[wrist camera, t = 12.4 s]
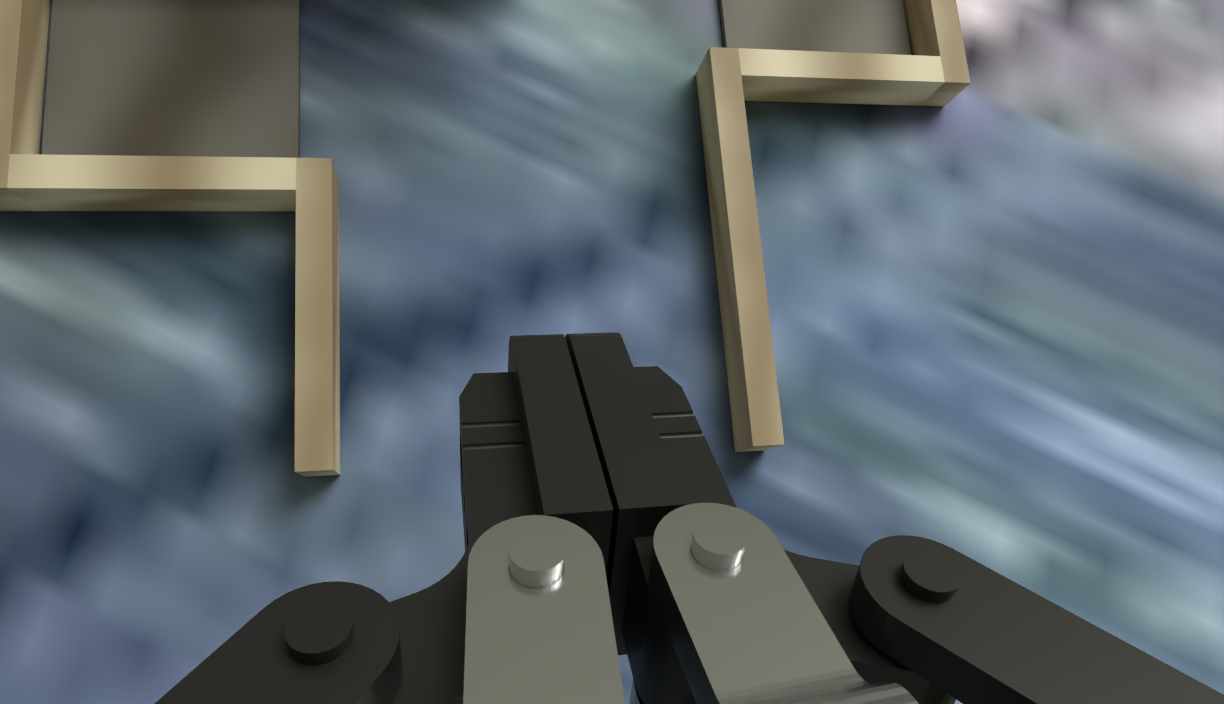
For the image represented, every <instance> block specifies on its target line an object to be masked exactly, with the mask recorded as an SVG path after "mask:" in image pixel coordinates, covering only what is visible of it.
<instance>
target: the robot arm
mask: <svg viewBox="0 0 1224 704" xmlns="http://www.w3.org/2000/svg"><path fill="white" fill-rule="evenodd" d="M459 405H460V466H461V495H462V510H463V525H464V537H465V553H464V555H463V557H462V559H461V560H460V562H459V563H458V564H457V566H456V567H455V568H454V569H453V570H452V571H451V572H450V573H449V574H448V575H446V576H445V577H444V578H443V579H441V580H440V581H439V582H437V583H435V584H433V585H432V586H430V587H428V588H426V589H424V590H421V591H419V592H417V593H414V594H411V595H409V596H406V597H403V598H400V599H397V600H395V601H392V602H388V601H387V600H386V599H385V598H384V597H383V596H382V595H380V594H379V593H377V592H375V591H374V590H372V589H370V588H367V587H365V586H362V585H359V584H354V583H349V582H322V583H316V584H311V585H308V586H304V587H301V588H298V589H295V590H293V591H291V592H288V593H286V594H284V595H283V596H281V597H279V598H277V599H276V600H274V601H273V602H271V603H270V604H269V605H267V606H266V607H265V608H264V609H262V610H261V611H260V612H259V613H258V614H257V615H256V616H254V617H253V618H252V619H251V620H250V621H249V622H248V623H246V624H245V625H244V626H243V627H242V628H241V629H240V630H238V631H237V632H236V633H235V634H234V635H233V636H232V637H230V638H229V639H228V640H227V641H226V642H225V643H224V644H222V645H221V646H220V647H219V648H218V649H217V650H216V651H214V652H213V653H212V654H211V655H210V656H209V657H207V658H206V659H205V660H204V661H203V662H202V663H201V664H199V665H198V666H197V667H196V668H195V669H194V670H193V671H191V672H190V673H189V674H188V675H187V676H186V677H185V678H183V679H182V680H181V681H180V682H179V683H178V684H177V685H175V686H174V687H173V688H172V689H171V690H170V691H169V692H167V693H166V694H165V695H164V696H163V697H162V698H161V699H159V700H158V701H157V702H156V703H155V704H625V701H624V694H623V687H622V680H621V674H620V667H619V660H618V655H624V654H627V655H628V659H629V663H630V667H631V671H632V675H633V682H632V689H631V696H630V704H954V703H955V701H956V699H957V700H958V701H960V702H961V703H963V704H1224V695H1223V694H1221V693H1219V692H1217V691H1215V690H1214V689H1212V688H1210V687H1208V686H1206V685H1204V684H1202V683H1201V682H1199V681H1197V680H1195V679H1193V678H1191V677H1190V676H1188V675H1186V674H1184V673H1182V672H1180V671H1178V670H1177V669H1175V668H1173V667H1171V666H1169V665H1167V664H1165V663H1164V662H1162V661H1160V660H1158V659H1156V658H1154V657H1152V656H1151V655H1149V654H1147V653H1145V652H1143V651H1141V650H1139V649H1138V648H1136V647H1134V646H1132V645H1130V644H1128V643H1126V642H1125V641H1123V640H1121V639H1119V638H1117V637H1115V636H1113V635H1112V634H1110V633H1108V632H1106V631H1104V630H1102V629H1100V628H1099V627H1097V626H1095V625H1093V624H1091V623H1089V622H1087V621H1086V620H1084V619H1082V618H1080V617H1078V616H1076V615H1075V614H1073V613H1071V612H1069V611H1067V610H1065V609H1063V608H1062V607H1060V606H1058V605H1056V604H1054V603H1052V602H1050V601H1049V600H1047V599H1045V598H1043V597H1041V596H1039V595H1037V594H1036V593H1034V592H1032V591H1030V590H1028V589H1026V588H1024V587H1023V586H1021V585H1019V584H1017V583H1015V582H1013V581H1011V580H1010V579H1008V578H1006V577H1004V576H1002V575H1000V574H998V573H997V572H995V571H993V570H991V569H989V568H987V567H985V566H984V565H982V564H980V563H978V562H976V561H974V560H973V559H971V558H969V557H967V556H965V555H963V554H961V553H960V552H958V551H956V550H954V549H952V548H950V547H948V546H946V545H944V544H941V543H939V542H936V541H933V540H930V539H926V538H922V537H916V536H891V537H886V538H883V539H880V540H878V541H876V542H874V543H873V544H871V545H870V546H869V547H868V548H867V549H866V551H865V552H864V554H863V556H862V559H861V562H860V565H859V566H858V565H852V564H846V563H840V562H834V561H828V560H823V559H817V558H811V557H806V556H802V555H798V554H795V553H792V552H789V551H786V550H784V549H783V548H782V546H781V544H780V543H779V541H778V539H777V538H776V536H775V535H774V534H773V532H772V531H771V530H770V529H769V528H768V527H767V526H766V525H765V524H764V523H763V522H762V521H760V520H759V519H758V518H756V517H755V516H753V515H751V514H749V513H748V512H745V511H743V510H741V509H738V508H737V507H736V505H735V503H734V501H733V499H732V496H731V494H730V492H729V490H728V488H727V485H726V483H725V481H724V479H723V477H722V474H721V472H720V470H719V468H718V466H717V464H716V461H715V459H714V457H713V455H712V453H711V450H710V448H709V446H708V444H707V442H706V439H705V437H704V436H702V431H701V428H700V426H699V424H698V422H697V420H696V417H695V416H693V411H692V409H691V406H690V404H689V402H688V400H687V398H686V396H685V393H684V391H683V389H682V387H681V386H680V385H679V384H678V383H676V382H675V381H674V380H673V379H672V378H671V377H669V376H668V375H667V374H666V373H665V372H664V371H662V370H661V369H660V368H659V367H658V366H653V367H633V365H632V363H631V360H630V357H629V355H628V352H627V350H626V347H625V344H624V342H623V339H622V337H621V335H620V334H619V333H584V334H566V336H565V337H564V335H563V334H557V335H524V336H510V340H509V357H508V372H502V373H476V374H473V375H472V377H471V379H470V380H469V382H468V384H467V385H466V387H465V388H464V390H463V392H462V393H461V395H460V397H459Z"/></svg>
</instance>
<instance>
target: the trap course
mask: <svg viewBox="0 0 1224 704" xmlns="http://www.w3.org/2000/svg"><path fill="white" fill-rule="evenodd" d="M50 2H51V0H0V211H296V270H295V472H296V473H298V474H300V475H302V476H304V477H311V476H328V475H340V327H339V181H338V178H337V174H336V171H335V168H334V164H333V161H332V158H300V0H53V2H52V16H51V30H50V44H49V58H48V71H47V85H46V99H45V113H44V127H43V140H42V154H39V152H40V138H41V125H42V111H43V97H44V84H45V70H46V56H47V43H48V29H49V15H50ZM719 4H720V13H721V22H722V31H723V40H724V48H722V47H709V49H708V51H707V53H706V55H705V57H704V59H703V61H702V63H701V65H700V67H699V68H698V70H697V72H696V80H697V90H698V100H699V109H700V119H701V129H702V138H703V148H704V157H705V167H706V177H707V186H708V196H709V206H710V215H711V225H712V234H713V244H714V254H715V263H716V273H717V283H718V292H719V302H720V311H721V321H722V331H723V340H724V350H725V360H726V369H727V379H728V388H729V398H730V408H731V417H732V427H733V437H734V446H735V452H748V451H765V450H768V449H771V448H774V447H778V446H781V445H784V437H783V429H782V420H781V412H780V403H779V394H778V386H777V377H776V369H775V360H774V351H773V343H772V334H771V326H770V317H769V308H768V300H767V291H766V283H765V274H764V265H763V257H762V248H761V239H760V231H759V222H758V214H757V205H756V196H755V188H754V179H753V171H752V162H751V153H750V145H749V136H748V128H747V119H746V110H745V102H744V101H769V102H805V103H841V104H877V105H914V106H945V105H946V104H947V103H948V102H950V101H951V100H952V99H953V98H954V97H955V96H956V95H957V94H959V93H960V92H961V91H962V90H963V89H964V88H965V87H966V86H968V85H969V84H970V78H969V72H968V66H967V61H966V55H965V50H964V44H963V38H962V33H961V27H960V22H959V16H958V10H957V5H956V0H719Z"/></svg>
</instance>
